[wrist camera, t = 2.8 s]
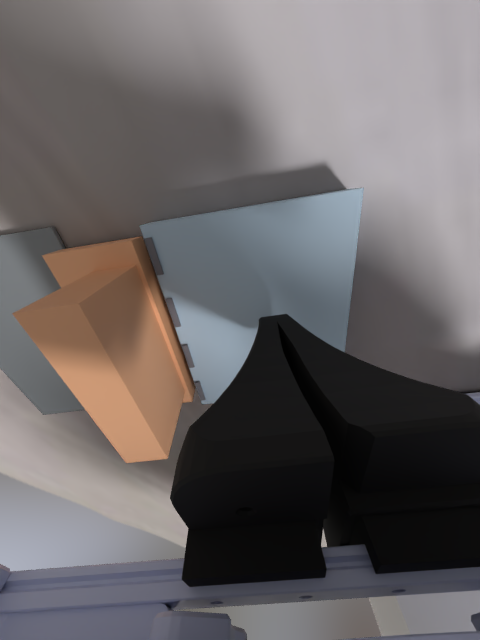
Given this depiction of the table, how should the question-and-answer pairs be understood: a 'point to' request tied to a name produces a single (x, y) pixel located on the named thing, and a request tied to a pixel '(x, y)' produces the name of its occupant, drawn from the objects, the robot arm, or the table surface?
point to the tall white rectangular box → (426, 612)
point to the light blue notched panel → (255, 276)
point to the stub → (114, 344)
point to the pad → (10, 337)
